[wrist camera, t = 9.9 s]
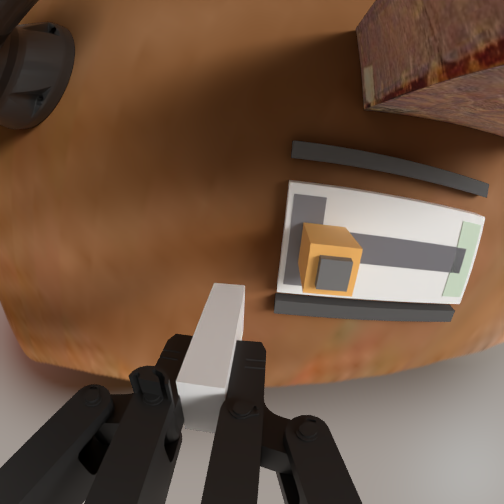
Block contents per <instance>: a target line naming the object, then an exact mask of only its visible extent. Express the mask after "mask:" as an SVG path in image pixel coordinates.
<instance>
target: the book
mask: <svg viewBox="0 0 504 504" xmlns="http://www.w3.org/2000/svg"><path fill="white" fill-rule="evenodd" d="M356 33H357V40H358V48H359V56H360V65H361V76H362V88H363V102H364V110H367V111H377V112H386V113H394V114H402V115H408V116H415V117H421V118H427V119H432V120H438V121H443V122H447V123H452V124H457V125H461V126H465V127H469V128H473V129H477V130H481V131H485V132H488V133H492V134H495V135H499V136H502V137H504V0H376V1H375V2H374V3H373V5H372V6H371V8H370V9H369V10H368V12H367V13H366V15H365V16H364V18H363V19H362V20H361V22H360V23H359V25H358V26H357V28H356Z"/></svg>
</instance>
